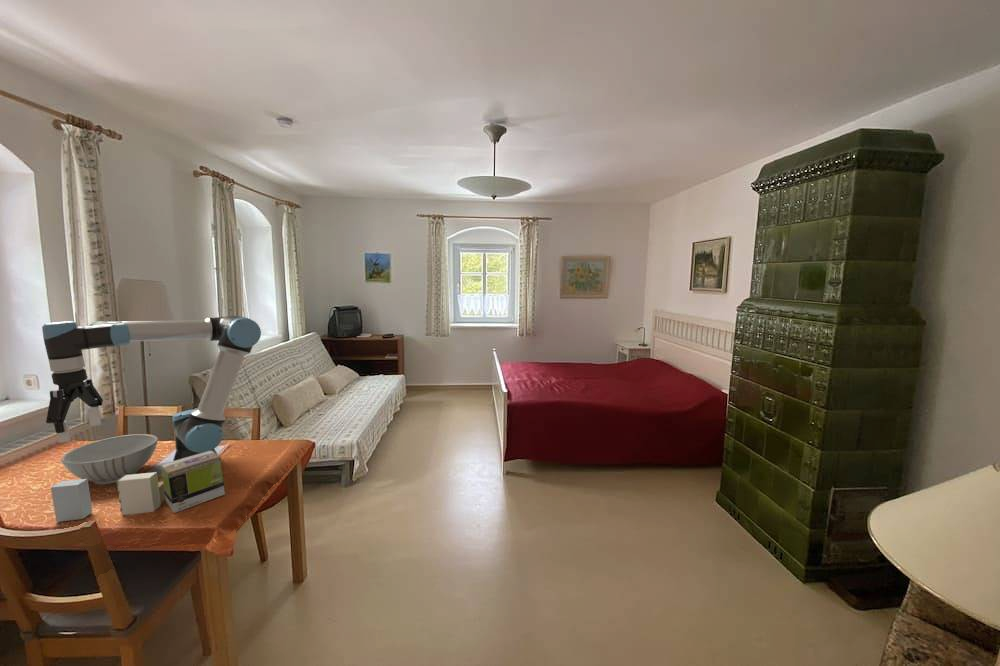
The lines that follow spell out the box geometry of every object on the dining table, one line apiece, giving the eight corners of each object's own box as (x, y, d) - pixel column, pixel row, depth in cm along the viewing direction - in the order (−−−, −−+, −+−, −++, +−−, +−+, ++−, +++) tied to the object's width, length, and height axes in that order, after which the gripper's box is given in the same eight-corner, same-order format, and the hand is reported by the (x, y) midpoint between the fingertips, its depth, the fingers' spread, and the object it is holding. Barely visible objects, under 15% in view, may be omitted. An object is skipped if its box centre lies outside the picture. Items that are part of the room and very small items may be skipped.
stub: (66, 514, 130) (61, 481, 129) (92, 511, 132) (87, 478, 130) (56, 521, 127) (50, 487, 125) (83, 518, 128) (77, 484, 127)
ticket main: (139, 500, 139) (134, 467, 138) (169, 497, 141) (165, 464, 140) (121, 515, 130) (116, 480, 129) (153, 511, 133) (149, 477, 131)
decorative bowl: (103, 498, 140) (98, 466, 139) (45, 490, 146) (40, 459, 144) (178, 464, 166) (174, 436, 165) (127, 458, 172) (123, 431, 170)
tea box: (216, 486, 149) (212, 448, 147) (225, 495, 143) (221, 456, 141) (165, 503, 138) (160, 463, 135) (172, 514, 131) (167, 472, 129)
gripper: (83, 362, 138) (94, 420, 142) (18, 381, 114) (34, 451, 118) (109, 360, 140) (120, 418, 143) (50, 379, 116) (65, 447, 120)
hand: (81, 433), depth 131 cm, fingers open, 13 cm apart
